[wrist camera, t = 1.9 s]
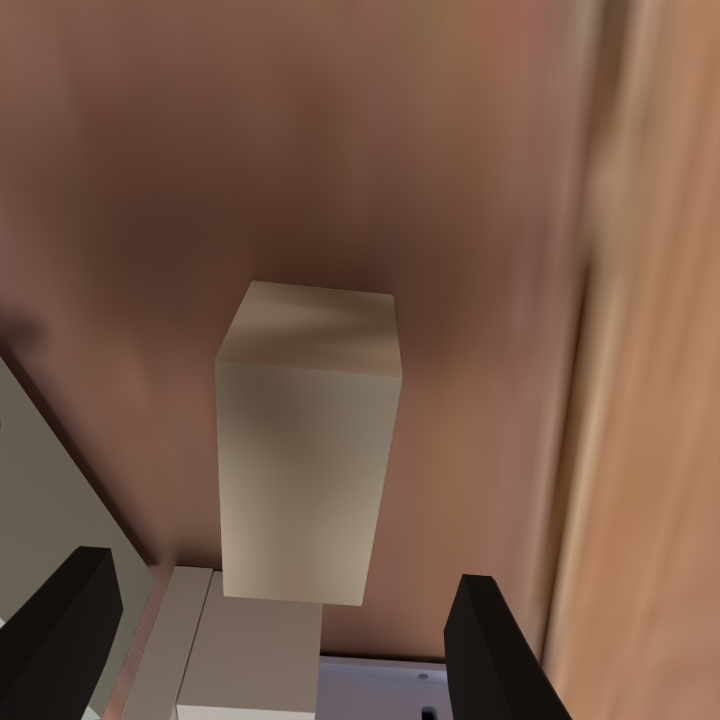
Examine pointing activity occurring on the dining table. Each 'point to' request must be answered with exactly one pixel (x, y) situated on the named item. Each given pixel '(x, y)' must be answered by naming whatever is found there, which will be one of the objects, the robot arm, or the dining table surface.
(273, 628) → the wall frame
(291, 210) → the dining table surface
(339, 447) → the birch block
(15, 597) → the door
